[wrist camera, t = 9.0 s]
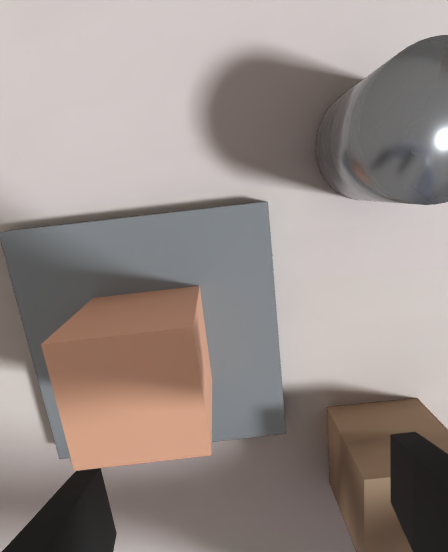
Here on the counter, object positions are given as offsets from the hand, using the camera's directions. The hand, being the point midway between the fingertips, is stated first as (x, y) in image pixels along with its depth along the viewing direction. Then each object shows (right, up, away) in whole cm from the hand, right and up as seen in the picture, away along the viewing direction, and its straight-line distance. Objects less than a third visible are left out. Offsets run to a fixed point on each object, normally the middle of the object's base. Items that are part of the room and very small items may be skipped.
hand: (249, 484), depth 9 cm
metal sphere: (+6, +11, +7) cm, 15 cm away
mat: (-4, +2, +9) cm, 10 cm away
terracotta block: (-4, +2, +8) cm, 9 cm away
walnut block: (+8, -4, +11) cm, 14 cm away
